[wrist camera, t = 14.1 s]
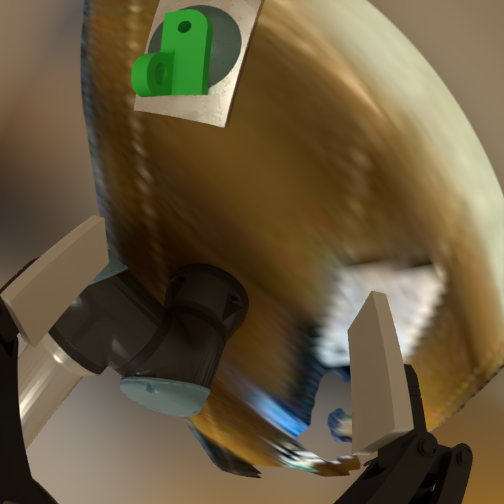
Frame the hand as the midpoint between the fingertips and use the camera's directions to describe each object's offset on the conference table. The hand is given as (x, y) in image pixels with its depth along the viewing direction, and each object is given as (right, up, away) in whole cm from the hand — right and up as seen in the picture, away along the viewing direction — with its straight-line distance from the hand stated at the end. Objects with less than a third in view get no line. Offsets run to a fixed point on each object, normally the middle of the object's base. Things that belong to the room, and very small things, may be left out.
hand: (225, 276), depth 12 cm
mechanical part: (-7, +26, +14) cm, 31 cm away
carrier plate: (-6, +27, +15) cm, 32 cm away
